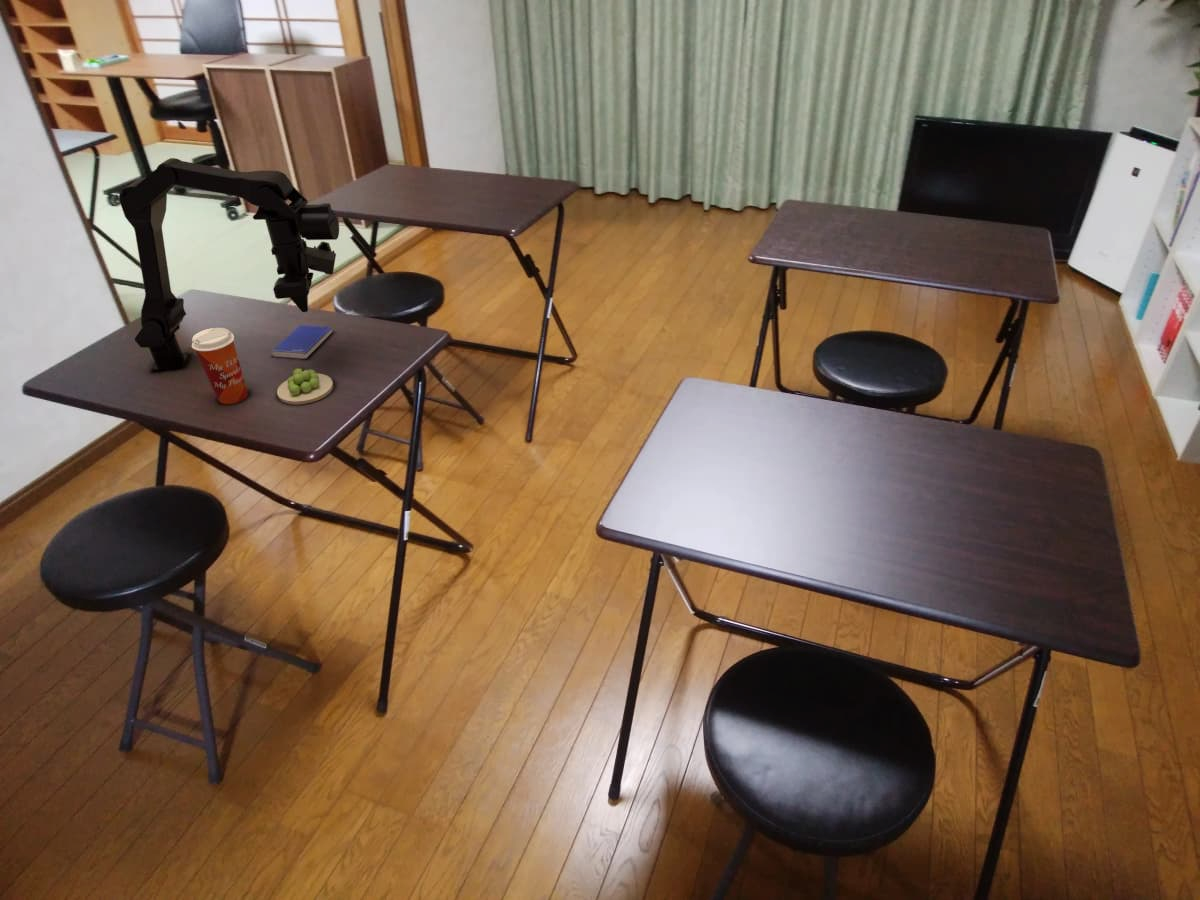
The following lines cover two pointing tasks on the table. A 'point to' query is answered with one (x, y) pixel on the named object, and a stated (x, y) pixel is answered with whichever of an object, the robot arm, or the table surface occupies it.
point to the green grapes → (302, 381)
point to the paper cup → (221, 364)
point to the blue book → (302, 342)
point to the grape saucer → (306, 397)
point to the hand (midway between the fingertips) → (305, 311)
